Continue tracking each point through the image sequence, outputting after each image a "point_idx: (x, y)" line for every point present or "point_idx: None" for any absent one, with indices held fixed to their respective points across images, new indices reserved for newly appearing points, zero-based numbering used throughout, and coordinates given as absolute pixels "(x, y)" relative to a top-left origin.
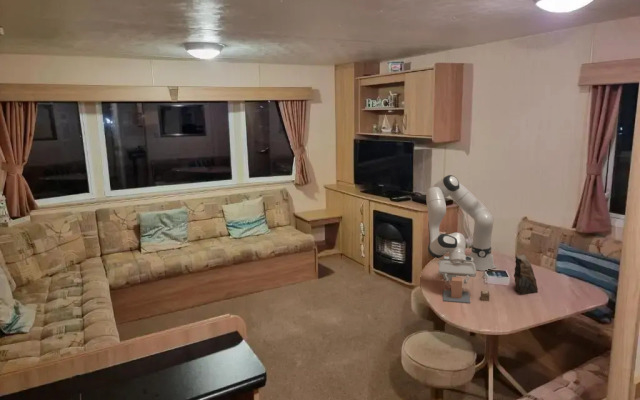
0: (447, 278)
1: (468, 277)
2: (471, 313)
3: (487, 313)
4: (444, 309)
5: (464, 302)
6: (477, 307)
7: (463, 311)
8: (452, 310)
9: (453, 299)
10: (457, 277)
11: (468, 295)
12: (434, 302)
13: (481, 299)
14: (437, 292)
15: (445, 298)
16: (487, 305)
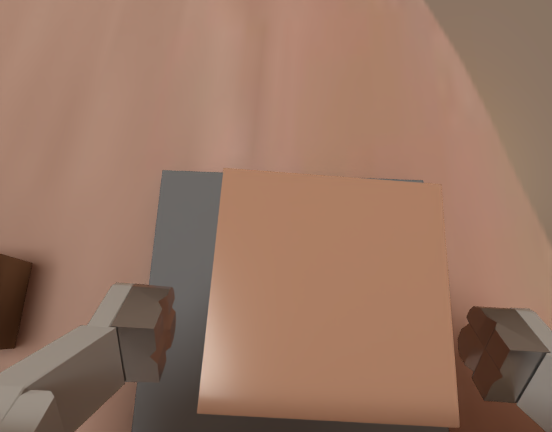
0: (542, 342)
1: (18, 366)
2: (187, 4)
3: (56, 18)
4: (395, 39)
5: (219, 175)
6: (113, 107)
7: (246, 26)
8: (333, 31)
9: None
10: (319, 403)
11: None
12: (491, 148)
13: (23, 261)
14: (502, 404)
15: None
16: (4, 158)
